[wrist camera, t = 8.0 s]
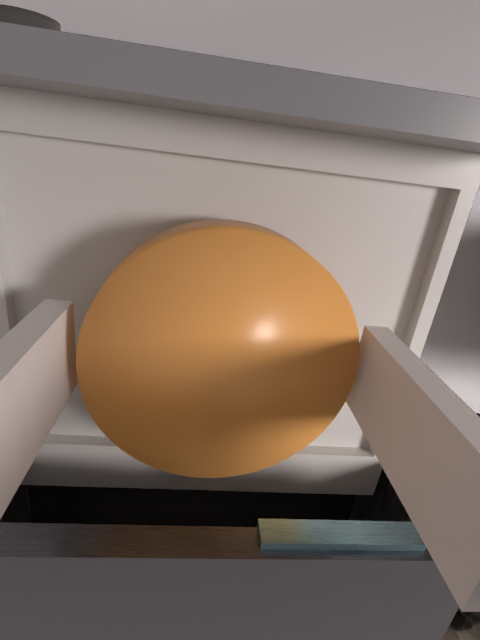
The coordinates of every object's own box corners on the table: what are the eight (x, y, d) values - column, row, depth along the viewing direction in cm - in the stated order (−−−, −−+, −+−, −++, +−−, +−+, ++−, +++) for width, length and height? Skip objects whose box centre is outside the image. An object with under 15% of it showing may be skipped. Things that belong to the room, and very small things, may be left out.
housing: (-4, 403, 15) (-126, 548, 9) (396, 424, 17) (486, 555, 11) (29, 627, 20) (-36, 801, 15) (328, 623, 22) (367, 777, 17)
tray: (-36, 31, 10) (-190, -45, 6) (484, 112, 12) (620, 92, 8) (18, 449, 16) (-46, 550, 12) (370, 463, 18) (418, 555, 14)
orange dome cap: (84, 204, 10) (67, 213, 9) (365, 233, 12) (391, 245, 10) (93, 443, 13) (81, 479, 12) (314, 444, 15) (328, 476, 13)
